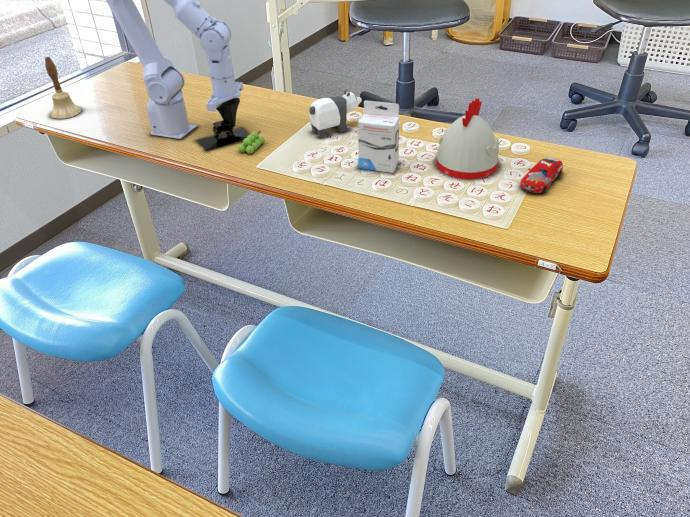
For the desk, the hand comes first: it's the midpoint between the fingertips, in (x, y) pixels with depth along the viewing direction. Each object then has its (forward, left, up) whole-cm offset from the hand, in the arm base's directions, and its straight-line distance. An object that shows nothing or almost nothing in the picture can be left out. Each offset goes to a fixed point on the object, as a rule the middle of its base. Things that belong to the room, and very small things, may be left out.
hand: (230, 126), depth 152 cm
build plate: (0, -4, -2) cm, 4 cm away
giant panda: (+25, +10, -2) cm, 27 cm away
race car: (+78, -1, -2) cm, 78 cm away
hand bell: (-53, -2, -2) cm, 53 cm away
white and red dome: (+61, +2, -2) cm, 61 cm away
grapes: (+9, -6, -2) cm, 11 cm away
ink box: (+42, -5, -2) cm, 42 cm away
